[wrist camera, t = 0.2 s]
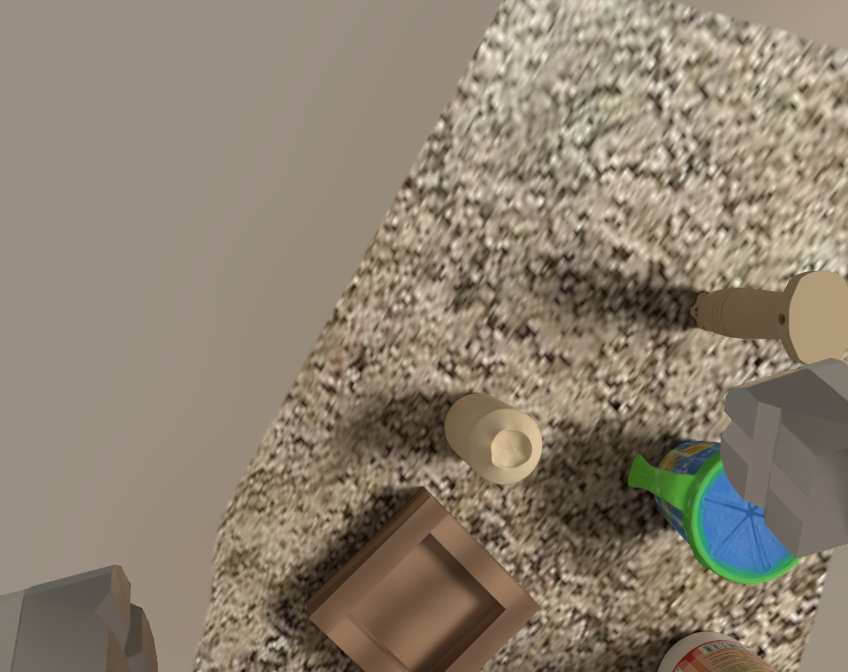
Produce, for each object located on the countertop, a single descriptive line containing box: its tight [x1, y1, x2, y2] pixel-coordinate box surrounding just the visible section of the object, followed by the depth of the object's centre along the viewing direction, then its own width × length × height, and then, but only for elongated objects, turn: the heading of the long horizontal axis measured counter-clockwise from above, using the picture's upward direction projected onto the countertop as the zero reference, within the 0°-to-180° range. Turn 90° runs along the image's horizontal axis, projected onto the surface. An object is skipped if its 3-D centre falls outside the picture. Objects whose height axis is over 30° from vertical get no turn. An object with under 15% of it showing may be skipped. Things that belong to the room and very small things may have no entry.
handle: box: [690, 271, 848, 365], centre depth 62 cm, size 5×6×15 cm
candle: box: [444, 393, 542, 484], centre depth 61 cm, size 6×6×10 cm
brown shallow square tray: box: [307, 487, 540, 672], centre depth 65 cm, size 13×13×3 cm
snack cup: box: [628, 441, 802, 584], centre depth 65 cm, size 16×11×10 cm
